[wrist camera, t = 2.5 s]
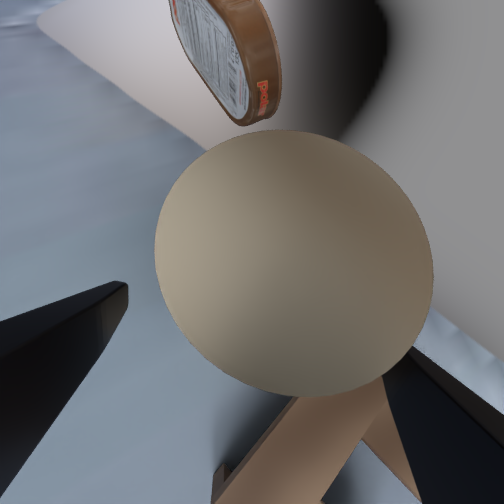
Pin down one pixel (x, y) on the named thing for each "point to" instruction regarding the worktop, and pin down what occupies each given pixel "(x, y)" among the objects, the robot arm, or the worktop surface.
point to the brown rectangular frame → (314, 449)
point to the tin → (232, 54)
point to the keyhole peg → (293, 263)
